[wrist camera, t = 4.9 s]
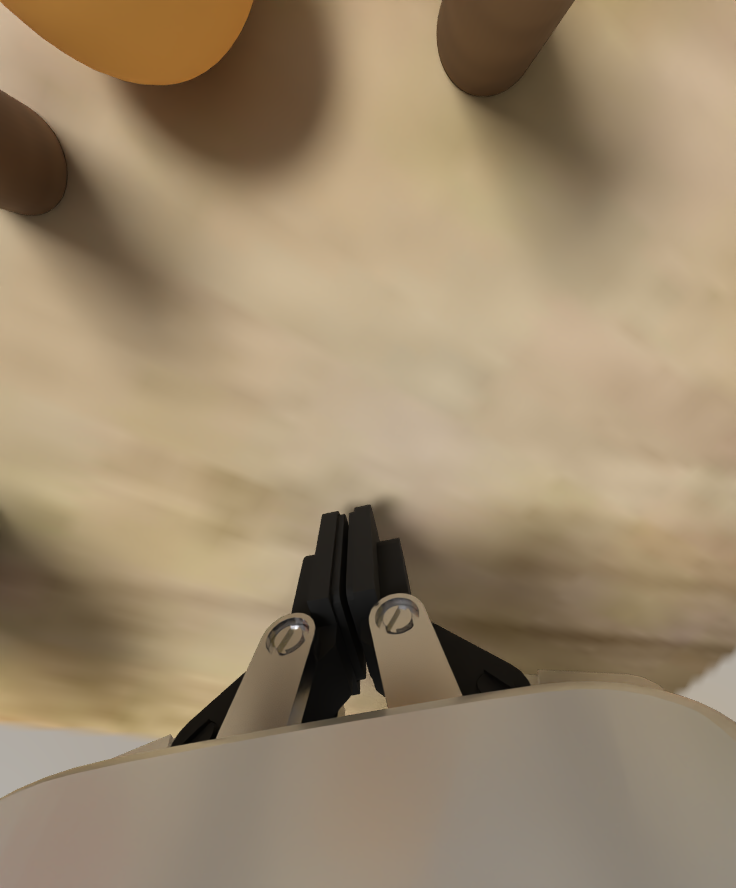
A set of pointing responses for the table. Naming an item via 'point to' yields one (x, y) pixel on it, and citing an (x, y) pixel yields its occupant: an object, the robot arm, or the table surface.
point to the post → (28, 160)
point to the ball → (138, 34)
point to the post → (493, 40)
